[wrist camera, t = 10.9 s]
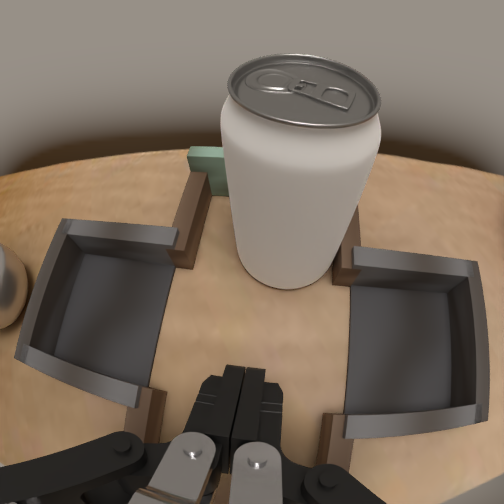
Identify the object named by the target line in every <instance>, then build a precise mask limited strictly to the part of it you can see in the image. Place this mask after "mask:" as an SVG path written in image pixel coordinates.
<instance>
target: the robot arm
mask: <svg viewBox="0 0 504 504" xmlns="http://www.w3.org/2000/svg"><path fill="white" fill-rule="evenodd" d="M245 370H246V373H245ZM265 370H266V369H260V368H251V367H247V368H246V367H242V366H234V365H226V367H225V370H224V373H223V377H220V376H214V375H211V376H210V377H208V378H207V379H206V380H205V381H204V382H203V383H202V385H201V388H200V391H199V394H198V396H197V398H196V402H195V403H194V406H193V408H192V411H191V414H190V416H189V419H188V421H187V424H186V426H185V429H184V431H183V433H182V434H180V435H178V436H176V437H175V438H174V439H173V440H172V441H170V442H167V443H143V442H142V440H141V439H140V438H139V437H138V436H137V435H135V434H133V433H130V432H125V431H119V432H114V433H111V434H109V435H106V436H104V437H101V438H98V439H95V440H93V441H90V442H87V443H84V444H81V445H78V446H75V447H72V448H69V449H66V450H63V451H60V452H57V453H54V454H50V455H47V456H43V457H40V458H36V459H33V460H29V461H25V462H21V463H17V464H13V465H9V466H4V467H0V504H212V502H213V500H214V497H215V494H216V491H217V487H218V484H219V480H220V476H221V473H227V474H228V472H229V467H230V474H232V479H231V489H230V498H229V504H387V503H385V502H384V501H383V500H381V499H380V498H379V497H377V496H376V495H375V494H374V493H372V492H371V491H370V490H369V489H367V488H366V487H365V486H364V485H363V484H361V483H360V482H359V481H358V480H356V479H355V478H354V477H353V476H352V475H351V474H349V473H348V472H347V471H346V470H345V469H343V468H342V467H340V466H337V465H334V464H320V465H317V466H315V467H313V468H308V467H305V466H302V465H298V464H296V463H293V462H292V461H290V460H289V459H287V458H286V457H285V456H284V454H283V453H282V450H281V447H280V441H281V425H282V406H283V405H282V404H283V392H282V390H281V388H280V386H279V384H278V383H269V382H264V378H265Z"/></svg>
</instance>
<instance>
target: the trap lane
mask: <svg viewBox="0 0 504 504" xmlns="http://www.w3.org/2000/svg"><path fill="white" fill-rule="evenodd" d="M187 159H188V163H189V167H190V171H191V172H190V175H189V178H188V181H187V183H186V186H185V189H184V192H183V195H182V198H181V201H180V204H179V207H178V210H177V213H176V216H175V219H174V222H173V225H172V227H163V226H152V225H140V224H128V223H116V222H103V221H90V220H77V219H63V218H62V220H61V222H60V224H59V226H58V228H57V231H56V233H55V235H54V237H53V240H52V242H51V244H50V247H49V249H48V251H47V254H46V256H45V259H44V261H43V264H42V266H41V269H40V272H39V274H38V277H37V280H36V283H35V285H34V288H33V291H32V294H31V297H30V300H29V304H28V307H27V310H26V313H25V317H24V320H23V324H22V327H21V331H20V335H19V339H18V343H17V347H16V351H15V356H14V358H15V359H17V360H19V361H21V362H23V363H24V364H26V365H28V366H30V367H32V368H34V369H36V370H38V371H40V372H42V373H44V374H47V375H49V376H51V377H53V378H55V379H57V380H60V381H62V382H64V383H67V384H69V385H71V386H74V387H76V388H78V389H81V390H83V391H86V392H89V393H91V394H94V395H97V396H99V397H102V398H105V399H108V400H110V401H113V402H116V403H119V404H122V405H125V406H128V407H127V413H126V419H125V426H124V431H125V432H130V433H133V434H135V435H137V436H138V437H139V438H140V439H141V440H142V442H143V443H159V438H160V431H161V425H162V419H163V412H164V407H165V401H166V395H167V392H165V391H161V390H157V389H153V388H150V387H149V381H150V376H151V371H152V366H153V361H154V356H155V352H156V347H157V342H158V338H159V333H160V329H161V324H162V320H163V316H164V311H165V307H166V303H167V299H168V295H169V291H170V287H171V283H172V279H173V275H174V271H175V268H176V267H178V268H186V269H193V266H194V262H195V258H196V254H197V250H198V246H199V242H200V238H201V234H202V230H203V227H204V223H205V219H206V215H207V212H208V208H209V204H210V200H211V197H212V195H218V196H229V190H228V183H227V175H226V168H225V160H224V152H223V147H196V146H195V147H194V146H192V147H190V150H189V152H188V154H187ZM332 285H339V286H350V331H349V353H348V369H347V382H346V393H345V404H344V413H343V414H332V413H323V419H322V427H321V435H320V442H319V449H318V455H317V462H316V466H317V465H320V464H334V465H337V466H340V467H342V468H343V469H345V470H346V471H347V472H348V473H349V467H350V461H351V455H352V448H353V441H354V439H360V438H380V437H394V436H404V435H413V434H421V433H428V432H435V431H441V430H447V429H452V428H458V427H462V426H467V425H472V424H476V423H480V422H484V421H488V412H489V390H490V364H489V342H488V329H487V319H486V310H485V302H484V295H483V289H482V283H481V277H480V272H479V267H478V262H477V261H470V260H463V259H455V258H448V257H440V256H433V255H425V254H417V253H409V252H401V251H393V250H385V249H376V248H368V247H361V241H360V225H359V213H358V205H357V207H356V209H355V212H354V214H353V217H352V219H351V221H350V224H349V226H348V228H347V231H346V233H345V235H344V237H343V240H342V242H341V244H340V246H339V249H338V251H337V253H336V255H335V257H334V259H333V280H332Z"/></svg>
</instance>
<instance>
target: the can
mask: <svg viewBox="0 0 504 504" xmlns="http://www.w3.org/2000/svg"><path fill="white" fill-rule="evenodd" d="M227 84H228V85H227V86H228V91H229V95H228V97H227V99H226V101H225V103H224V106H223V108H222V112H221V135H222V144H223V152H224V160H225V168H226V175H227V183H228V190H229V197H230V205H231V212H232V219H233V226H234V232H235V239H236V245H237V250H238V255H239V258H240V260H241V262H242V264H243V266H244V267H245V269H246V270H247V271H248V272H249V273H250V274H251V275H252V276H253V277H254V278H255V279H257V280H258V281H260V282H262V283H263V284H266V285H268V286H271V287H274V288H279V289H296V288H301V287H305V286H307V285H310V284H312V283H314V282H315V281H317V280H318V279H319V278H321V277H322V276H323V275H324V274H325V273H326V271H327V270H328V268H329V267H330V265H331V263H332V261H333V259H334V257H335V255H336V253H337V251H338V249H339V246H340V244H341V242H342V240H343V237H344V235H345V233H346V231H347V228H348V226H349V224H350V221H351V219H352V217H353V214H354V212H355V209H356V207H357V205H358V202H359V200H360V197H361V195H362V192H363V190H364V187H365V184H366V182H367V179H368V177H369V174H370V171H371V169H372V166H373V163H374V160H375V157H376V154H377V151H378V148H379V144H380V139H381V127H380V122H379V117H378V111H379V109H380V106H381V97H380V94H379V92H378V90H377V88H376V87H375V85H374V84H373V83H372V82H371V81H370V80H369V79H368V78H366V77H365V76H364V75H363V74H361V73H360V72H358V71H356V70H355V69H353V68H351V67H349V66H347V65H344V64H342V63H340V62H337V61H334V60H331V59H327V58H323V57H318V56H313V55H305V54H275V55H269V56H263V57H259V58H256V59H253V60H251V61H248V62H246V63H244V64H242V65H241V66H239V67H238V68H236V69H235V70H234V71H233V72H232V74H231V75H230V77H229V79H228V83H227Z"/></svg>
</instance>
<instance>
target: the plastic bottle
mask: <svg viewBox="0 0 504 504" xmlns="http://www.w3.org/2000/svg"><path fill="white" fill-rule="evenodd" d="M27 294H28V279H27V274H26V270H25V267H24V265H23V263H22V262H21V260H20V259H19V258H18V257H17V255H16V254H15V253H14V252H13V251H12V250H11V249H10V248H8V247H6V246H5V245H3V244H1V243H0V329H2V328H5V327H7V326H9V325H11V324H12V323H13V322H15V321H16V319H17V318H18V317H19V315H20V314H21V312H22V310H23V308H24V305H25V302H26V299H27Z"/></svg>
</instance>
